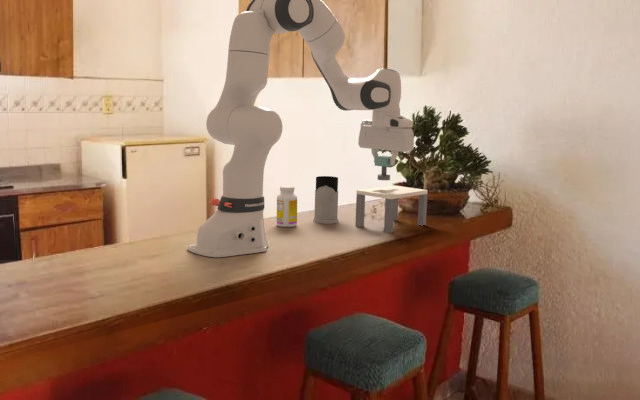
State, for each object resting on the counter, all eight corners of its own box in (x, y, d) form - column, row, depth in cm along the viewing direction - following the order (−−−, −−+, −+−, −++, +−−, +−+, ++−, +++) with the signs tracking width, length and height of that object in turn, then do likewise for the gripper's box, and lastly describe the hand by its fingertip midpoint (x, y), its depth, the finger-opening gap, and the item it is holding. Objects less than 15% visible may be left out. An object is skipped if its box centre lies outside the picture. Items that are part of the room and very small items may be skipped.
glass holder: (311, 222, 222) (312, 178, 220) (316, 215, 236) (318, 173, 234) (337, 224, 221) (338, 179, 219) (341, 216, 235) (342, 174, 232)
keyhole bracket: (388, 233, 209) (390, 195, 207) (355, 226, 218) (356, 190, 216) (425, 225, 223) (427, 190, 221) (392, 219, 232) (394, 185, 230)
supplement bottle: (298, 224, 219) (298, 185, 217) (295, 228, 213) (296, 188, 211) (278, 223, 220) (278, 184, 218) (274, 227, 213) (275, 187, 211)
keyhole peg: (384, 180, 211) (385, 157, 210) (374, 179, 214) (375, 156, 213) (393, 179, 214) (394, 156, 213) (382, 178, 217) (383, 155, 216)
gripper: (354, 119, 216) (353, 161, 218) (405, 122, 202) (403, 167, 204) (367, 119, 221) (365, 160, 223) (417, 122, 207) (415, 166, 209)
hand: (384, 163), depth 214 cm, fingers closed on keyhole peg, 4 cm apart
